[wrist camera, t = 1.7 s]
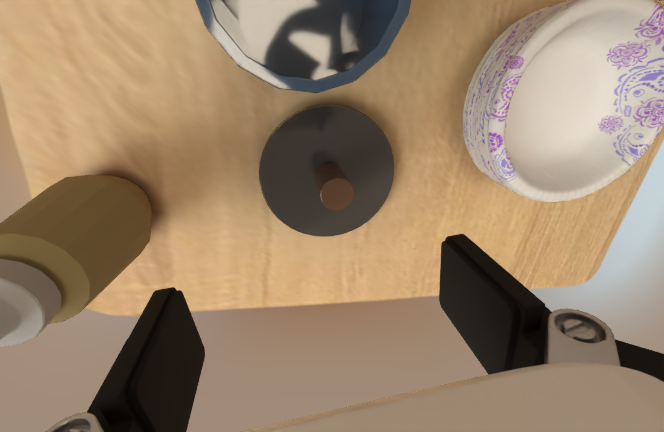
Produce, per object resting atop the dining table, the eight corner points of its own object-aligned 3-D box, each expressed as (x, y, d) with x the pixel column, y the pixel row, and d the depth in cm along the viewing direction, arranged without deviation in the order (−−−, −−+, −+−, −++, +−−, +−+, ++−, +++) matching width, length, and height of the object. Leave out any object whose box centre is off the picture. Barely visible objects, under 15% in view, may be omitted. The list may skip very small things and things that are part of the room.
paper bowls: (418, 76, 29) (465, 79, 21) (573, -31, 27) (680, -66, 20) (476, 203, 35) (527, 237, 28) (604, 123, 33) (692, 138, 26)
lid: (402, 111, 30) (430, 121, 24) (378, 233, 35) (396, 263, 29) (261, 95, 27) (258, 102, 22) (257, 228, 32) (254, 260, 27)
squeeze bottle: (136, 150, 27) (-65, 266, 11) (180, 229, 31) (76, 402, 15) (45, 178, 27) (-291, 338, 11) (100, 254, 31) (-94, 458, 15)
